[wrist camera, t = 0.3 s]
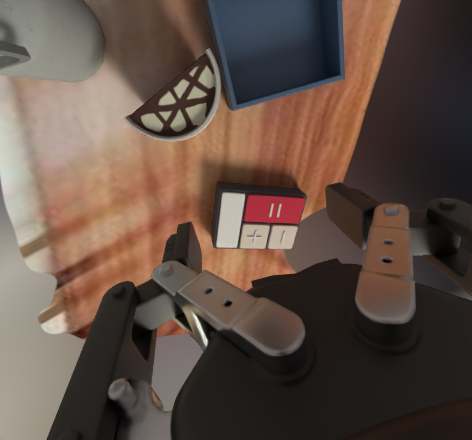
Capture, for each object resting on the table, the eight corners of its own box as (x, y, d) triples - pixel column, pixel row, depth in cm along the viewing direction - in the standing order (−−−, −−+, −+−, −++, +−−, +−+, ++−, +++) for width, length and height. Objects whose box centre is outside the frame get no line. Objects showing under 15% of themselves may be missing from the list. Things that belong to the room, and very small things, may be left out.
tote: (200, -8, 31) (200, -26, 26) (318, -42, 31) (339, -66, 26) (229, 109, 37) (233, 110, 33) (326, 81, 38) (345, 78, 33)
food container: (168, 149, 39) (159, 165, 30) (139, 114, 36) (120, 120, 27) (233, 99, 37) (244, 100, 28) (207, 58, 34) (211, 45, 25)
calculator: (294, 252, 46) (213, 251, 43) (286, 240, 50) (211, 238, 47) (309, 196, 42) (220, 190, 38) (299, 187, 45) (216, 181, 42)
